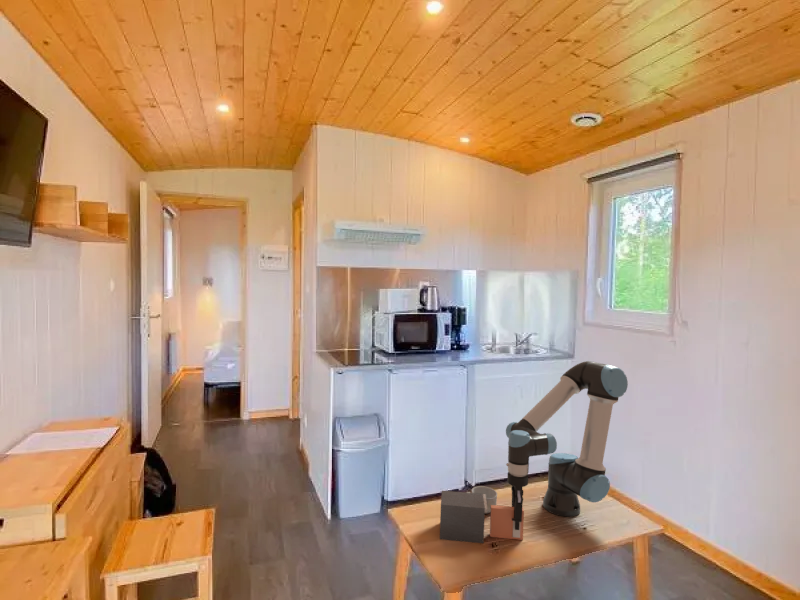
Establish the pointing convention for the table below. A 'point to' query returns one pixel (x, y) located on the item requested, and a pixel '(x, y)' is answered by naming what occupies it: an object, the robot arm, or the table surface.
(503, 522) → the salmon orange rectangular slab
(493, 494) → the teacup
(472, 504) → the block
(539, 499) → the table surface
